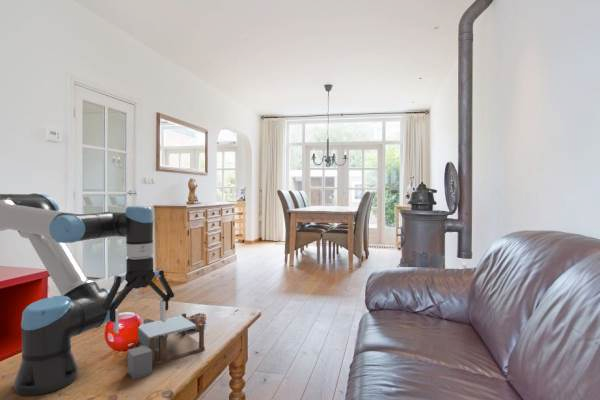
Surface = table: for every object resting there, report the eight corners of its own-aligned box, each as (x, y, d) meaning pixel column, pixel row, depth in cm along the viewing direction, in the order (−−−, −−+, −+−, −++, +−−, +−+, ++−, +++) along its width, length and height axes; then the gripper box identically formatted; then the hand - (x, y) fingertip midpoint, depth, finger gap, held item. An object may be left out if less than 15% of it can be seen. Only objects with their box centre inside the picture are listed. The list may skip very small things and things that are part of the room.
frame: (150, 368, 113) (150, 339, 113) (132, 348, 127) (132, 323, 127) (206, 350, 126) (206, 325, 125) (184, 335, 139) (184, 311, 139)
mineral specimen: (200, 330, 140) (191, 315, 140) (184, 339, 141) (175, 325, 141) (210, 319, 152) (202, 305, 152) (195, 328, 153) (187, 314, 153)
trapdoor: (149, 350, 115) (149, 337, 115) (136, 338, 125) (136, 325, 125) (196, 337, 126) (196, 325, 126) (181, 327, 136) (181, 315, 135)
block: (133, 379, 106) (133, 356, 106) (127, 372, 110) (127, 349, 110) (152, 373, 110) (152, 350, 110) (146, 366, 114) (146, 345, 114)
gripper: (96, 264, 98) (97, 341, 99) (184, 253, 115) (184, 320, 115) (90, 260, 104) (91, 333, 104) (175, 251, 120) (175, 314, 121)
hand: (140, 326), depth 110 cm, fingers open, 13 cm apart
